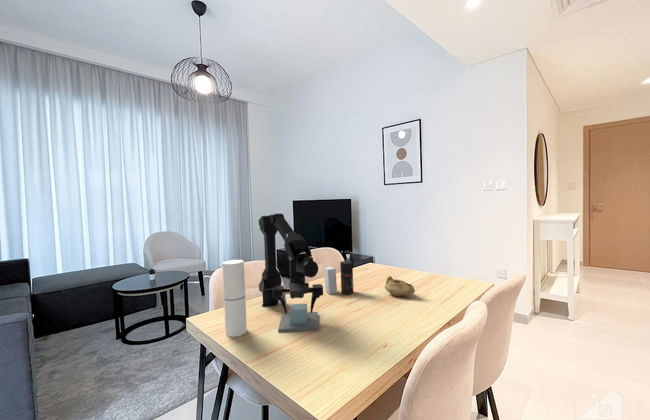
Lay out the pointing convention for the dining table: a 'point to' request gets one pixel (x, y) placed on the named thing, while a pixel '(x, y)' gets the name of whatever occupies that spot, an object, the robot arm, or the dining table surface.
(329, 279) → the skincare box
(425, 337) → the dining table surface
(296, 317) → the pale blue cube
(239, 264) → the cylindrical container
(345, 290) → the deodorant
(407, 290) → the brown lumpy piece
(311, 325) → the post stand
